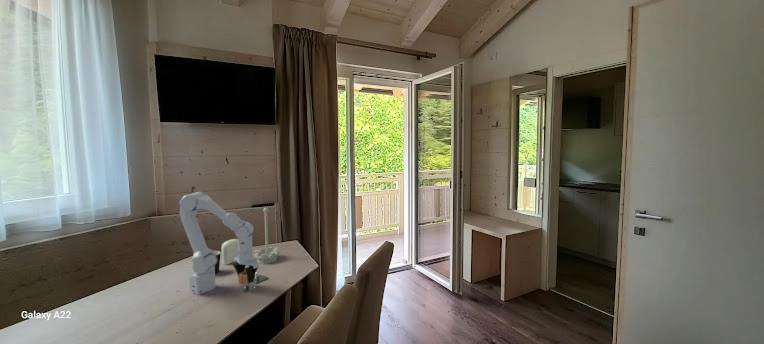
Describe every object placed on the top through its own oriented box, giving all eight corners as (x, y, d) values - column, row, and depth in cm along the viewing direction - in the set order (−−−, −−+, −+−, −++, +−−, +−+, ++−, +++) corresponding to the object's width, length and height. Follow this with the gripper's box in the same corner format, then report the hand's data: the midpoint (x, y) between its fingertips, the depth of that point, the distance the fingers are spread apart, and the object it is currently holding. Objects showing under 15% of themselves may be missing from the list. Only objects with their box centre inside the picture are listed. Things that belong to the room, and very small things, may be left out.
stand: (245, 294, 135) (244, 285, 135) (234, 291, 138) (234, 282, 138) (258, 288, 141) (258, 279, 141) (248, 284, 144) (248, 276, 144)
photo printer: (226, 265, 168) (225, 243, 167) (220, 264, 169) (219, 242, 168) (241, 259, 177) (240, 237, 176) (235, 258, 179) (234, 237, 178)
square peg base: (256, 286, 143) (255, 276, 143) (246, 282, 147) (245, 273, 146) (268, 280, 149) (268, 271, 149) (258, 277, 153) (258, 268, 153)
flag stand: (253, 258, 179) (251, 206, 176) (277, 254, 185) (275, 204, 182) (256, 265, 167) (254, 210, 165) (281, 261, 173) (279, 208, 171)
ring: (244, 285, 135) (244, 277, 135) (236, 282, 138) (235, 274, 138) (256, 280, 141) (256, 272, 140) (247, 278, 143) (247, 269, 143)
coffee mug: (224, 269, 162) (224, 251, 161) (214, 276, 154) (213, 256, 153) (204, 268, 163) (203, 250, 162) (192, 275, 155) (191, 256, 154)
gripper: (263, 251, 138) (264, 280, 139) (242, 245, 145) (243, 273, 146) (250, 255, 132) (251, 286, 133) (228, 249, 139) (229, 279, 140)
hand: (246, 280), depth 139 cm, fingers closed on ring, 6 cm apart
